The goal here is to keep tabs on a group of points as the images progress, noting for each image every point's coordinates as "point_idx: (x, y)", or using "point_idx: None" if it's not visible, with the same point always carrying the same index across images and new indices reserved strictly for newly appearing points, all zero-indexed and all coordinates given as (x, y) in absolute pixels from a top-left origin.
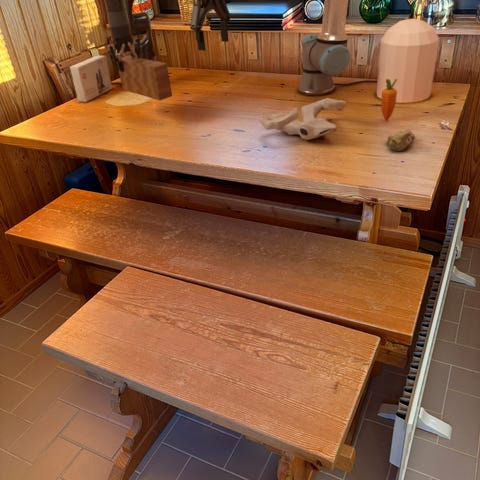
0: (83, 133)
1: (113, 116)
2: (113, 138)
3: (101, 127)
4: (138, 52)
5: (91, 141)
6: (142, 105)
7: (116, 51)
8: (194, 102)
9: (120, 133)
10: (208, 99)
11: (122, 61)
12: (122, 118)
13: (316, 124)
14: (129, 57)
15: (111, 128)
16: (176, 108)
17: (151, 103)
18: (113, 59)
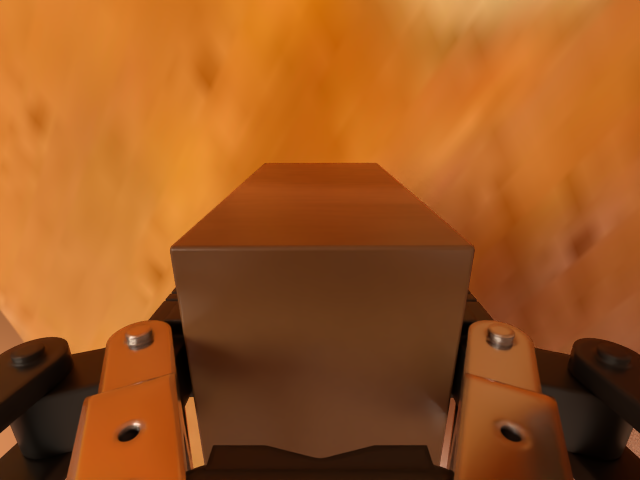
0: (17, 163)
1: (225, 74)
2: (108, 321)
3: (113, 169)
4: (577, 467)
5: (25, 277)
6: (430, 62)
7: (82, 474)
8: (574, 274)
9: (150, 302)
10: (631, 297)
11: (201, 416)
12: (242, 151)
13: None
14: (381, 380)
15: (144, 223)
16: (474, 266)
17: (479, 82)
18: (13, 446)
